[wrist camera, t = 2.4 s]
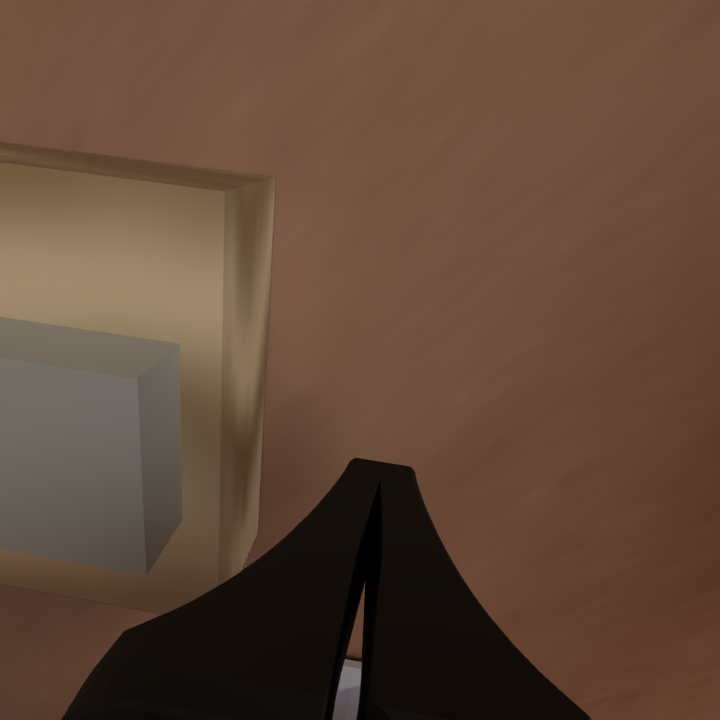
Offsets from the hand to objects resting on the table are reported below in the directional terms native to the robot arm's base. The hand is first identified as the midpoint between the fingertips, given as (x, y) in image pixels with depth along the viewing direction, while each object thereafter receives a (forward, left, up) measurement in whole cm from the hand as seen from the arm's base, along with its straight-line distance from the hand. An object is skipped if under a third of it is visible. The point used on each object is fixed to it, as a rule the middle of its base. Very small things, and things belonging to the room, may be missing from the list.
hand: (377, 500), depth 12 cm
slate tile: (0, +7, -1) cm, 8 cm away
